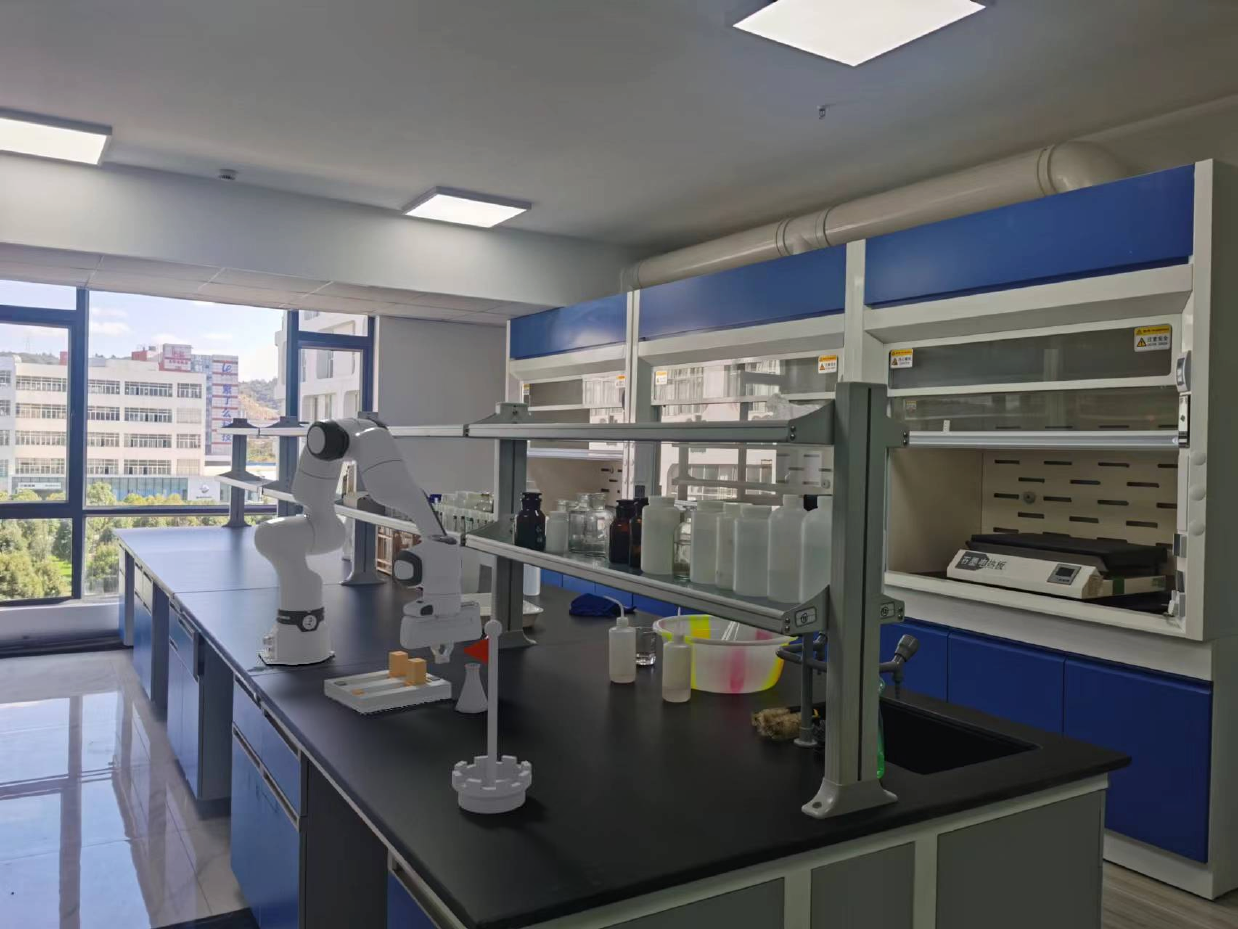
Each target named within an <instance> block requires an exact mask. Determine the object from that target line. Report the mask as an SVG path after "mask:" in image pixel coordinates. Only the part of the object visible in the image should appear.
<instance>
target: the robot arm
mask: <svg viewBox="0 0 1238 929" xmlns="http://www.w3.org/2000/svg"><path fill="white" fill-rule="evenodd" d="M344 462H349V463H350V462H356V465H358V470H359V473H360V477H361V479H362V484H363V485H364V486H363V487H364V488H365V491H366V492H367V494H368V496H369V497H370V498H371V499H372V500H373V501H374V502H376V503H377V504H379V505H382V506H384V507H387V508H390V509H394V510H397V511H398V512H401V513H402V514H405V515H406V516H407V517H409V518H410V519H411V520H412V521H413V522H414V525H415V526H416V529H417V531H418V533H419V535H420V537H421V539H422V541H421V542H420V543H418V544H416V545H413V546H411V547H408V548H404V549H401V550H399V551H397V553H396V554H395V555H394V558H393V560H392V564H391V572H392V576H393V578H394V580H395V581H396V583H397V584H398V585H399V586H400V587H402V588H408V589H413V588H419V587H420V588H421V587H422V589H423V591H422V596H421V597H418V598H417V599H414V600H413V601H410V602H408V603H406V604H404V606H403V613H404V614H405V615H404V616H403V617H402V620H401V622H400V623H401V624H400V632H399V633H400V634H399V635H400V636H399V637H400V638H399V640H400V641H399V642H400V645H401V646H402V647H403V648H405V649H408V650H414V649H420V648H426V647H430V650H431V652H432V653H433V655H434V662H435V664H437V665H438V664H439V665H440V664H445V663H450V655H451V653H452V651H453V650H454V648H455V643H459V642H460V643H462V642H466V641H472V640H473V641H474V640H478V639H480V638H481V637H482V634H483V627H482V626H483V625H482V619H481V605H480V603H479V602H478V601H477V602H476V601H475V600H469V601H462V587H461V584H460V581H461V580H460V579H461V575H462V568H463V559H462V554H461V548H460V545H459V542H458V540H457V539H456V538H455V537H453V536H450V535H448V533H447V532H446V530H445V527H444V526H443V524H442V522H441V520H440V517H439V516H438V514H437V511H436V509H435V508H434V505H433V504H432V501H431V500H430V498H429V496H428V495H427V493H426V492H425V491H424V490H423V489H422V487H420V486H419V484H417V483H416V481H415V480H414V478H413V477H412V475H411V474H410V471H409V470H408V468H407V465H406V462H405V460H404V457H403V455H402V452H401V450H400V448H399V445H398V444H397V442H396V439H395V437H394V436H393V435H392V433H391V432H390V431H389V428H388V427H387V426H386V424H385V423H383V422H381V421H379V420H376V419H371V418H368V419H366V418H365V419H364V418H358V417H357V418H356V417H347V418H333V419H332V418H324V419H320V420H316V421H315V422H313V423H311V425H310V426H309V428H308V430H307V434H306V442H305V443H304V446H303V448H302V451H301V454H300V456H299V459H298V463H297V466H296V470H295V474H294V478H293V482H292V485H291V488H290V489H291V495H292V498H294V501H296V502H297V504H299V505H301V506H302V512H301V514H300V515H295V516H294V515H293V516H278V517H274V518H271V519H267V520H264V521H262V522H260V523H259V524H258V526H257V527H256V529H255V532H254V536H253V538H254V539H253V541H254V546H255V549H256V550H257V552H258V553H259V554H260V556H261V557H264V558H265V559H266V560H267V561H268V562H269V563H270V564H271V566H272V567H273V569H274V572H275V574H276V576H277V581H278V592H279V594H278V598H279V605H278V606H279V608H278V609H277V613H276V617H275V618H276V619H275V621H276V623H275V624H274V625H273V627H272V628H271V630H270V631H268V633H267V636H263V639H262V642H263V643H262V644H263V646H266V649H267V650H264V649H265V648H264V649H260V650H259V651H265V652H259V653H260V654H261V656H262V657H263V659H264V660H265V661H266V662H287V663H292V662H293V663H295V662H313V661H317V660H321V659H325V658H327V657H329V655H331V654H334V653H335V654H336V651H333V650H331V638H330V628H329V625H327V624H326V623H325V622H324V620H325V614H326V612H325V606H323V603H324V601H323V599H324V598H323V597H324V593H323V590H324V582H323V581H324V580H323V578H322V577H321V576H320V574H318V573H317V572H315V571H313V570H311V569H310V568H309V566H308V563H307V559H306V558H307V557H309V556H319V555H326V554H329V553H332V552H335V551H338V550H340V549H341V548H342V547H343V546H344V544H345V542H346V538H347V528H346V526H345V523H344V522H343V520H342V519H341V518H340V517H339V516H338V515H337V512H336V509H335V499H336V493H337V490H338V485H339V481H340V478H341V473H342V469H343V465H344ZM441 645H443V646H444V647H445V648H444V652H443V653H442V654H441V653H440V649H441ZM267 659H273V660H267Z"/></svg>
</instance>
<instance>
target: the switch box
mask: <svg viewBox="0 0 1238 929" xmlns="http://www.w3.org/2000/svg"><path fill="white" fill-rule="evenodd" d="M387 674H389V669H386V670H385V669H384V670H380V671H379V670H378V671H373V672H368V673H361V674H356V675H355V674H354V675H350V676H343V677H336V678H328V679H324V680H323V681H324V684H323V685H324V686H323V687H324V690H323V691H324V692H325V693H326V694H329V695H330V696H333V697H334V698H335V699H338V700H339V701H340V702H343V703H344V704H347V705H348V706H350V707H352V708H353V709H356V710H357V711H358V712H361V713H364V712H373V711H377V710H381V709H390V708H394V707H401V708H404V707H403V706H406V707H408V706H407V705H411V706H413V705H412V704H416V705H421V704H420V703H422V704H425V703H424V702H427V703H432V702H436V700H437V701H441V700H440V699H443V700H447V699H451V698H452V682H450V681H447V680H445V679H442V678H440V677H438V676H435V675H432V674H431V673H427V672H426V682H427V683H426V684H420V685H414V686H409V687H405V682H407V676H403V677H397V678H391V679H387ZM324 692H323V693H324ZM390 710H391V709H390Z"/></svg>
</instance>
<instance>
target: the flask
mask: <svg viewBox="0 0 1238 929" xmlns="http://www.w3.org/2000/svg"><path fill="white" fill-rule="evenodd" d="M480 667H481V664H479V663H473V662H470V663H467V664H465V665H464V668H465V669H466V672H465V678H464V684H463V687H462V689H461V693H460V694H459V698H458V701H457V703H456V706H455V709H454V710H455V711H458V712H460V713H464V714H465V713H466V714H477V713H482V712H486V711H488V697H487V696H486V694H485V691H484V687H483V685H482V683H481V677H480Z"/></svg>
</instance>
